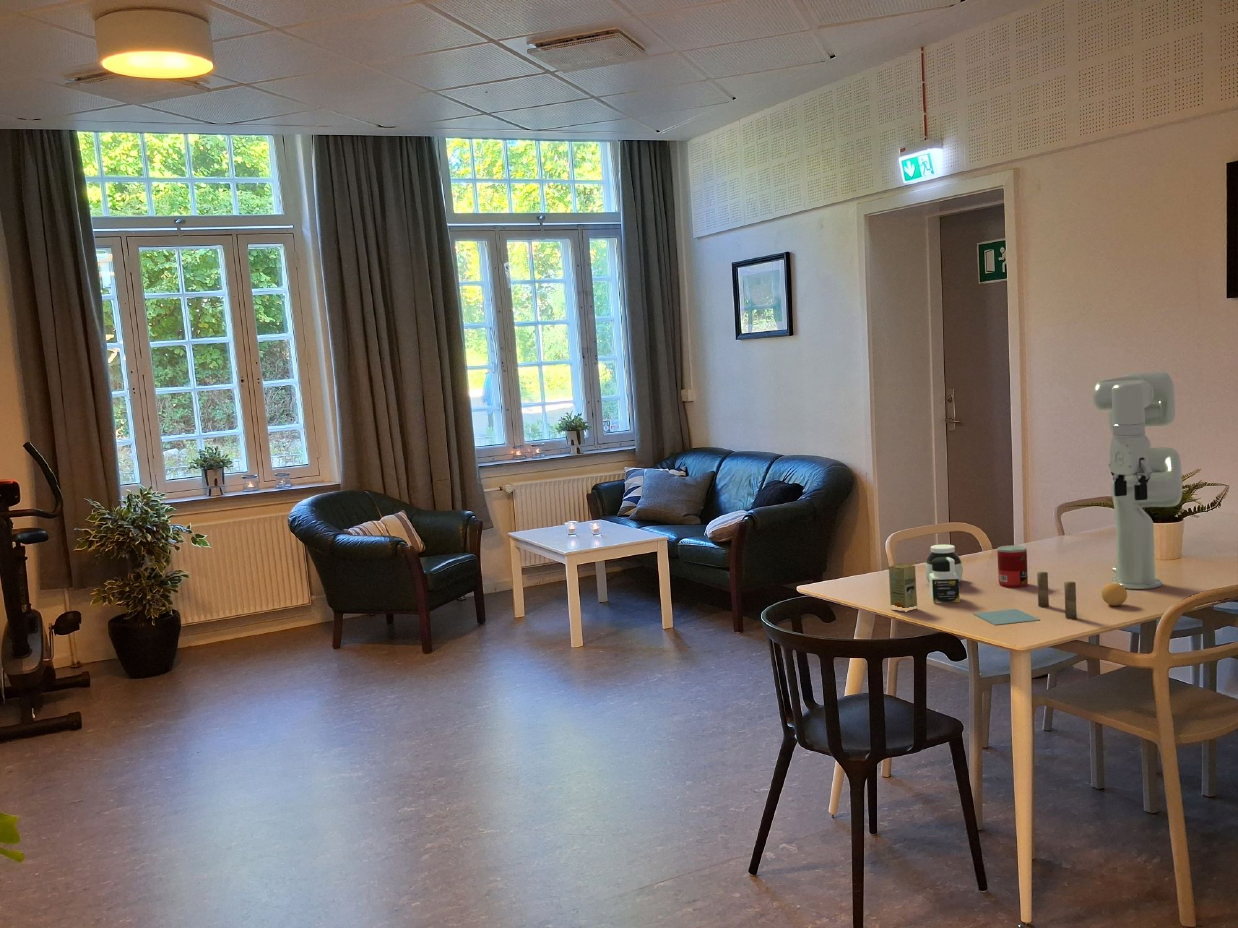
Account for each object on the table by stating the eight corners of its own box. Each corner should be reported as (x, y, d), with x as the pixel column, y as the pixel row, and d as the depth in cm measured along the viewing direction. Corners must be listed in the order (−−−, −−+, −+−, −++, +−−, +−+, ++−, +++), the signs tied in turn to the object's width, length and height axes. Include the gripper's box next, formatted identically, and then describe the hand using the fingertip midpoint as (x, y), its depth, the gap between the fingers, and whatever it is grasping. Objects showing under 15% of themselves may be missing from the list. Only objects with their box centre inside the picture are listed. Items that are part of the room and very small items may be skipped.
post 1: (1036, 605, 272) (1035, 572, 271) (1045, 604, 272) (1044, 571, 271) (1041, 607, 269) (1040, 574, 268) (1050, 606, 269) (1049, 573, 268)
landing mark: (973, 614, 268) (972, 613, 268) (1016, 609, 269) (1016, 608, 269) (995, 625, 256) (995, 624, 256) (1040, 620, 257) (1040, 619, 257)
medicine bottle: (933, 603, 282) (931, 561, 281) (930, 597, 289) (928, 556, 288) (960, 602, 280) (958, 560, 279) (956, 596, 287) (954, 555, 286)
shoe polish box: (890, 609, 278) (888, 566, 277) (902, 606, 281) (900, 563, 280) (905, 612, 275) (903, 568, 273) (917, 608, 278) (915, 565, 276)
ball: (1097, 603, 268) (1096, 581, 268) (1118, 601, 269) (1117, 579, 268) (1110, 609, 262) (1110, 586, 262) (1132, 606, 263) (1131, 584, 263)
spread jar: (930, 589, 299) (929, 550, 298) (920, 580, 310) (918, 543, 309) (972, 586, 298) (970, 547, 297) (960, 578, 310) (958, 540, 309)
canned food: (1027, 588, 291) (1025, 550, 290) (997, 587, 294) (996, 550, 293) (1028, 582, 298) (1027, 545, 297) (999, 581, 301) (998, 545, 300)
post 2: (1063, 616, 259) (1062, 582, 258) (1073, 615, 259) (1071, 581, 258) (1069, 619, 256) (1067, 584, 255) (1078, 618, 256) (1077, 583, 256)
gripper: (1095, 430, 271) (1097, 495, 273) (1136, 434, 254) (1138, 503, 256) (1121, 427, 272) (1123, 492, 274) (1164, 431, 255) (1165, 500, 257)
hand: (1130, 497), depth 265 cm, fingers open, 7 cm apart
